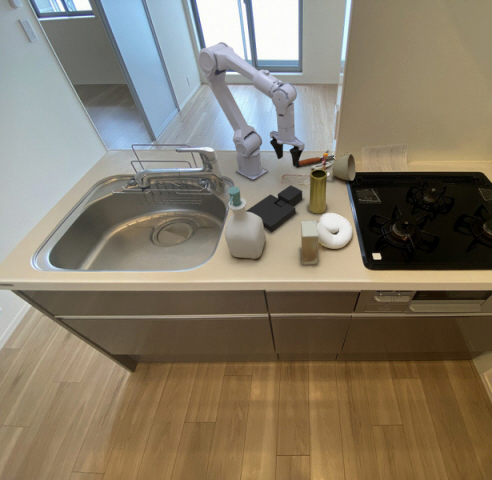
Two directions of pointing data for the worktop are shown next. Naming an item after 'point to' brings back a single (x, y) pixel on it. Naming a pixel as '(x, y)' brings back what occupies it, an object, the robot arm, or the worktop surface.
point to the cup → (344, 167)
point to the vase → (318, 191)
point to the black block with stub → (289, 196)
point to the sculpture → (334, 230)
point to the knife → (310, 161)
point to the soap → (319, 166)
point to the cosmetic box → (309, 241)
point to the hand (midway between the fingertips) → (287, 161)
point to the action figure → (325, 162)
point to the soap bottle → (243, 229)
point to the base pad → (272, 212)
